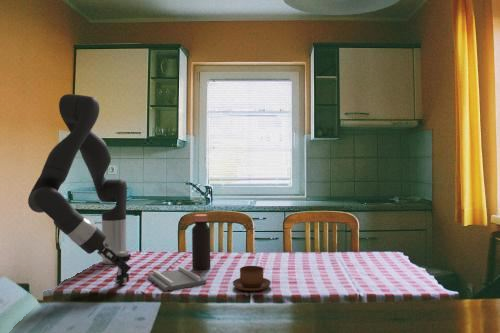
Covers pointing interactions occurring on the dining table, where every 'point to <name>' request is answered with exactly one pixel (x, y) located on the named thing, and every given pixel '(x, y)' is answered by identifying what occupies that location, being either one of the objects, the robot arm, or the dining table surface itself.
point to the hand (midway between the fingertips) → (125, 268)
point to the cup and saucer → (251, 279)
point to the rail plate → (176, 279)
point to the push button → (121, 275)
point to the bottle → (201, 243)
